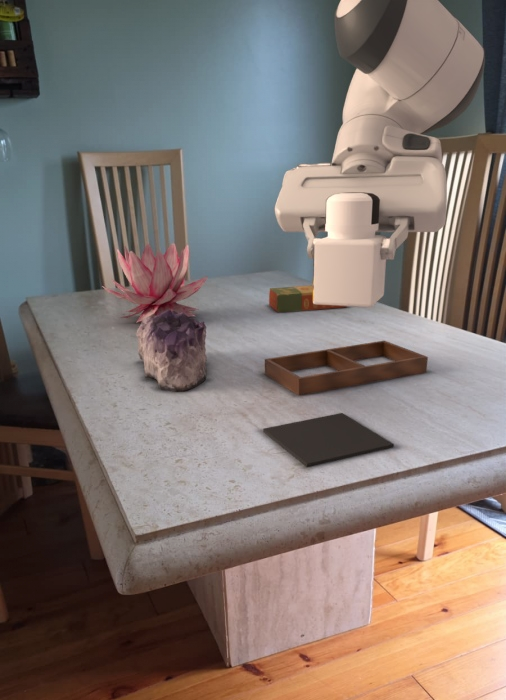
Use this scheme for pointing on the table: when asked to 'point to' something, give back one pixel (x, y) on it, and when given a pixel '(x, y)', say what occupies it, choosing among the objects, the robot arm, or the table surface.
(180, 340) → the geode
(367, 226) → the medicine bottle
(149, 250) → the decorative flower
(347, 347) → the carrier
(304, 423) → the coaster
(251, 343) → the table surface
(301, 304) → the carton
